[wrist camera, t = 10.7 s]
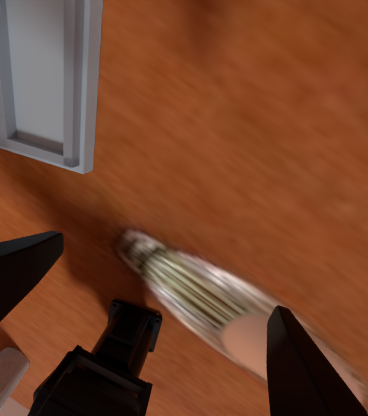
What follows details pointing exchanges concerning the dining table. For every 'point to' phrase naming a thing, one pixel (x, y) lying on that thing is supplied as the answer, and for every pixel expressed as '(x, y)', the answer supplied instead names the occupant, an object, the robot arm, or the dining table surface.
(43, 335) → the dining table surface
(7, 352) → the house plant
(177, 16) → the dining table surface
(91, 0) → the two-compartment grey tray
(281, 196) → the dining table surface
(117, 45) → the dining table surface
